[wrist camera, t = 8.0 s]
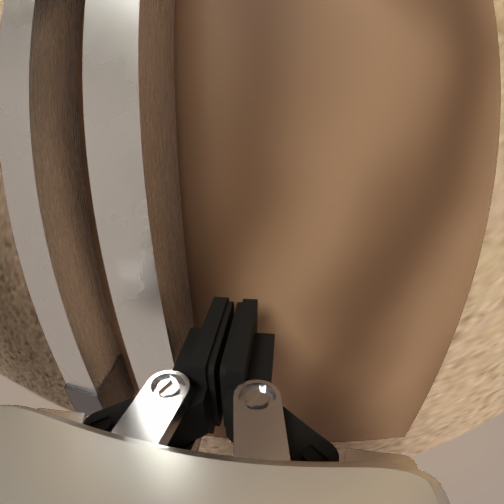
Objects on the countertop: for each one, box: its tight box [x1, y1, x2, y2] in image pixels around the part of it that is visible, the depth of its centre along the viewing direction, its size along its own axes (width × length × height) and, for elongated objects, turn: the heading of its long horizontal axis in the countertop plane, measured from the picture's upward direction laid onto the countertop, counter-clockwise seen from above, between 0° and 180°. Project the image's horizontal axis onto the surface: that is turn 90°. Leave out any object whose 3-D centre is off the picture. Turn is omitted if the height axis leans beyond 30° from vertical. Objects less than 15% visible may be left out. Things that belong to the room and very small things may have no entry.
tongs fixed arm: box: [0, 0, 135, 416], centre depth 9 cm, size 28×6×3 cm, turn 0°
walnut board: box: [78, 0, 501, 442], centre depth 11 cm, size 21×34×2 cm, turn 0°
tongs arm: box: [82, 0, 202, 451], centre depth 10 cm, size 25×4×3 cm, turn 1°
